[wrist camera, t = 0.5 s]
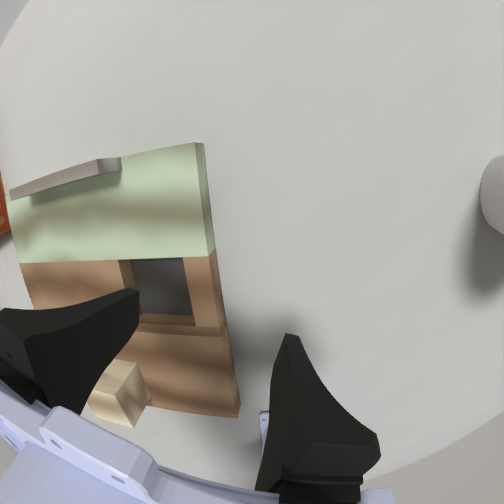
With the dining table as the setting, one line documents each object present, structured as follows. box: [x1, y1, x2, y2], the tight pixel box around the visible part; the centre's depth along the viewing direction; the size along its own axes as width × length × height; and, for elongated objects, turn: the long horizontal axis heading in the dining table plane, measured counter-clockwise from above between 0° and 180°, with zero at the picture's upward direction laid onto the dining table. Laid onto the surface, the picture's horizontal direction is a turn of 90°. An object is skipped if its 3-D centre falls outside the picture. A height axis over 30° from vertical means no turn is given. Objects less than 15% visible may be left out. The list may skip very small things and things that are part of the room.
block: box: [87, 359, 151, 428], centre depth 24 cm, size 5×5×5 cm
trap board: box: [5, 142, 241, 418], centre depth 23 cm, size 26×24×5 cm
